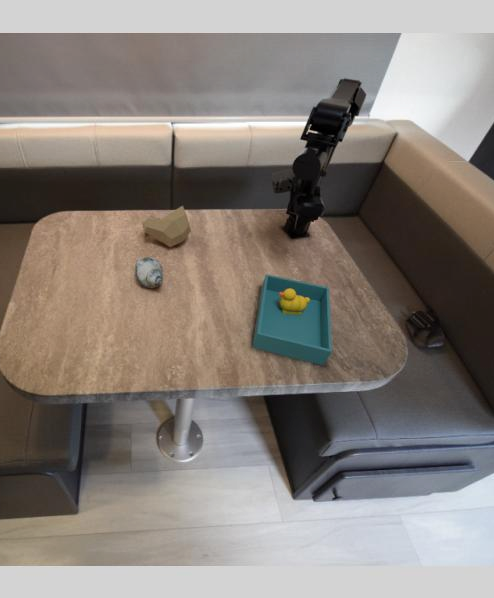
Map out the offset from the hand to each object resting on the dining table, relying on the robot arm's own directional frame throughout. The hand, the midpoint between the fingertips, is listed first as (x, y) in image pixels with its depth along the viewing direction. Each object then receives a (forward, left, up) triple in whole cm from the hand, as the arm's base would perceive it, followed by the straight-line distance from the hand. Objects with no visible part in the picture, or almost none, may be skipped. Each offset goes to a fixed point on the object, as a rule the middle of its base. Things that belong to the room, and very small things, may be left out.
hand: (293, 220), depth 93 cm
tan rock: (+31, -14, -12) cm, 36 cm away
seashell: (+40, +2, -12) cm, 42 cm away
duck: (+8, +20, -12) cm, 25 cm away
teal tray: (+11, +24, -12) cm, 29 cm away
